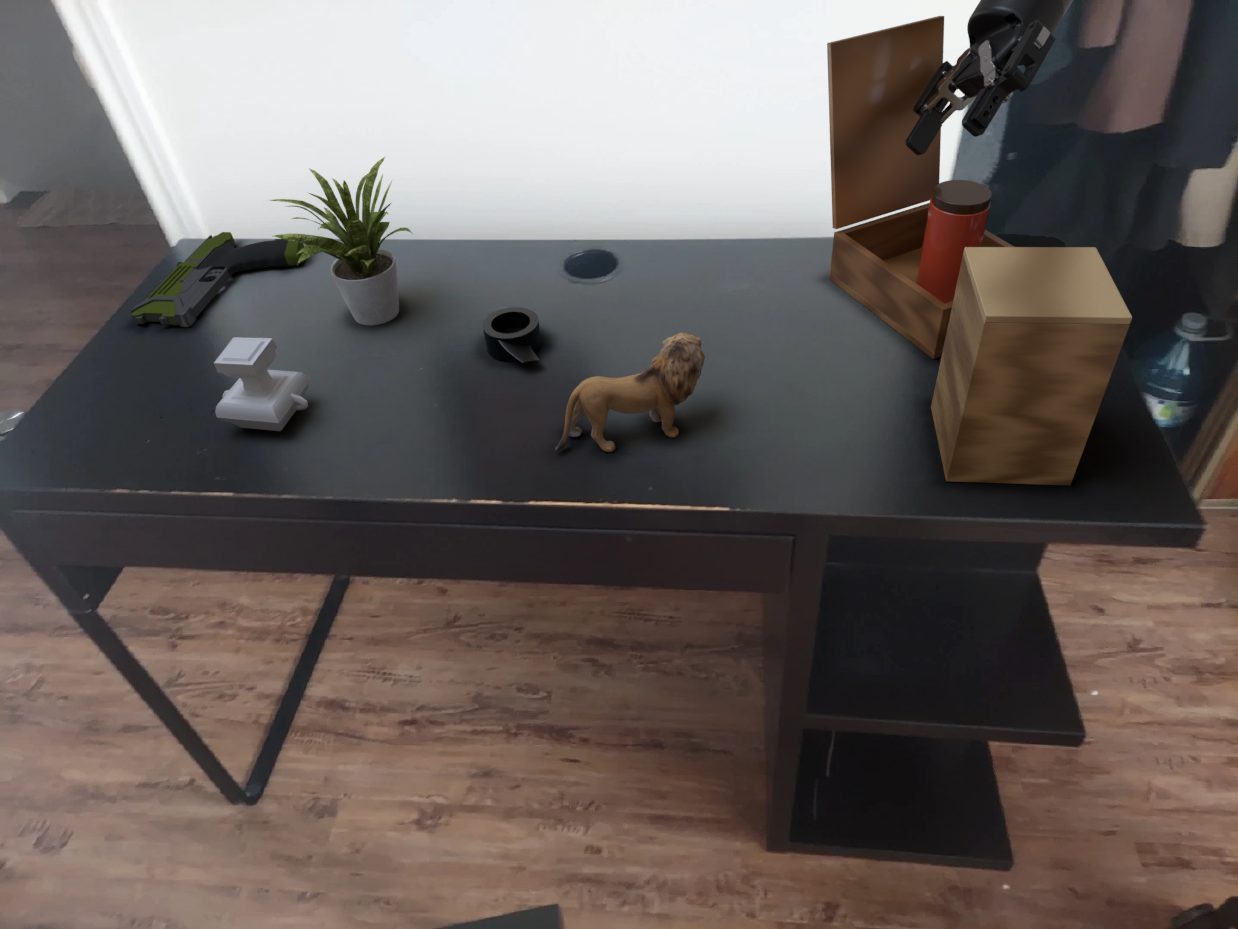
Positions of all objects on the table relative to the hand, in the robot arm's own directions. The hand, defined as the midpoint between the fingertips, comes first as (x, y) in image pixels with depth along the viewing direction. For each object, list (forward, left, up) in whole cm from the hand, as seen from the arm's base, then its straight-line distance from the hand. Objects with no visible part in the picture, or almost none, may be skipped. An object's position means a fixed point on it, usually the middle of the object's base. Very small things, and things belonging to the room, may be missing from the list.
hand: (940, 140), depth 87 cm
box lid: (+8, -4, -2) cm, 10 cm away
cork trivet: (-19, +15, -1) cm, 24 cm away
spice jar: (-3, -1, -17) cm, 17 cm away
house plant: (+43, +41, -18) cm, 62 cm away
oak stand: (-19, +15, -17) cm, 30 cm away
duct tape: (+25, +35, -18) cm, 46 cm away
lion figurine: (+6, +35, -18) cm, 40 cm away
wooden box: (-1, -1, -17) cm, 17 cm away
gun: (+61, +51, -18) cm, 81 cm away
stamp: (+33, +59, -18) cm, 70 cm away
